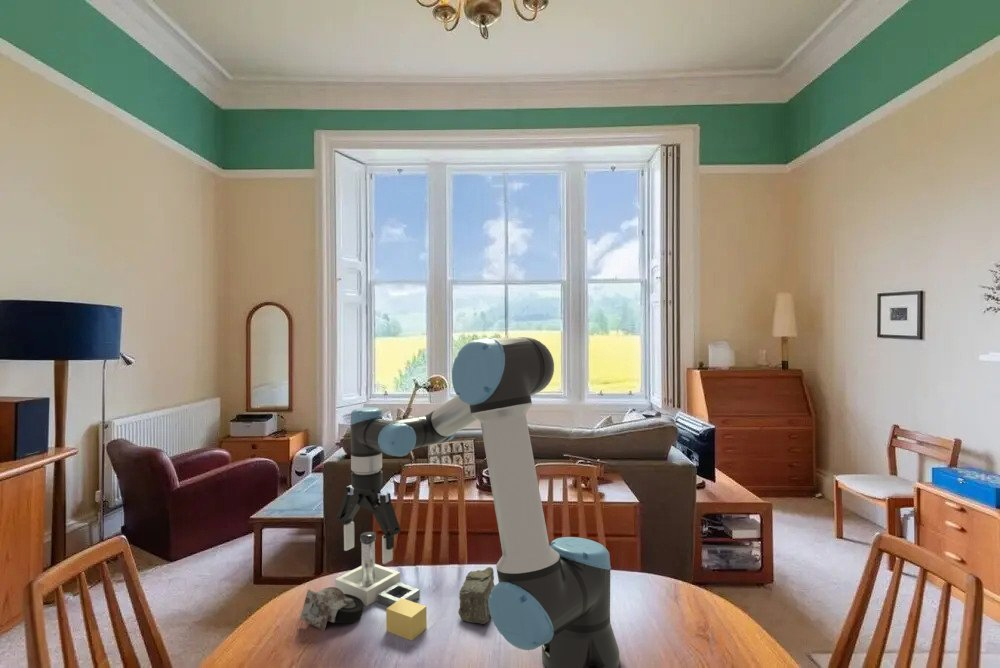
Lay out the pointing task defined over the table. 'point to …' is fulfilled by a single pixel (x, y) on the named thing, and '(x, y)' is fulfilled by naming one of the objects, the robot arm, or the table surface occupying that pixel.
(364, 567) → the pin
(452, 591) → the table surface
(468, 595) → the rock
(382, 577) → the tray
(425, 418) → the robot arm
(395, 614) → the block
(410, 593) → the pin socket
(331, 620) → the caster wheel
